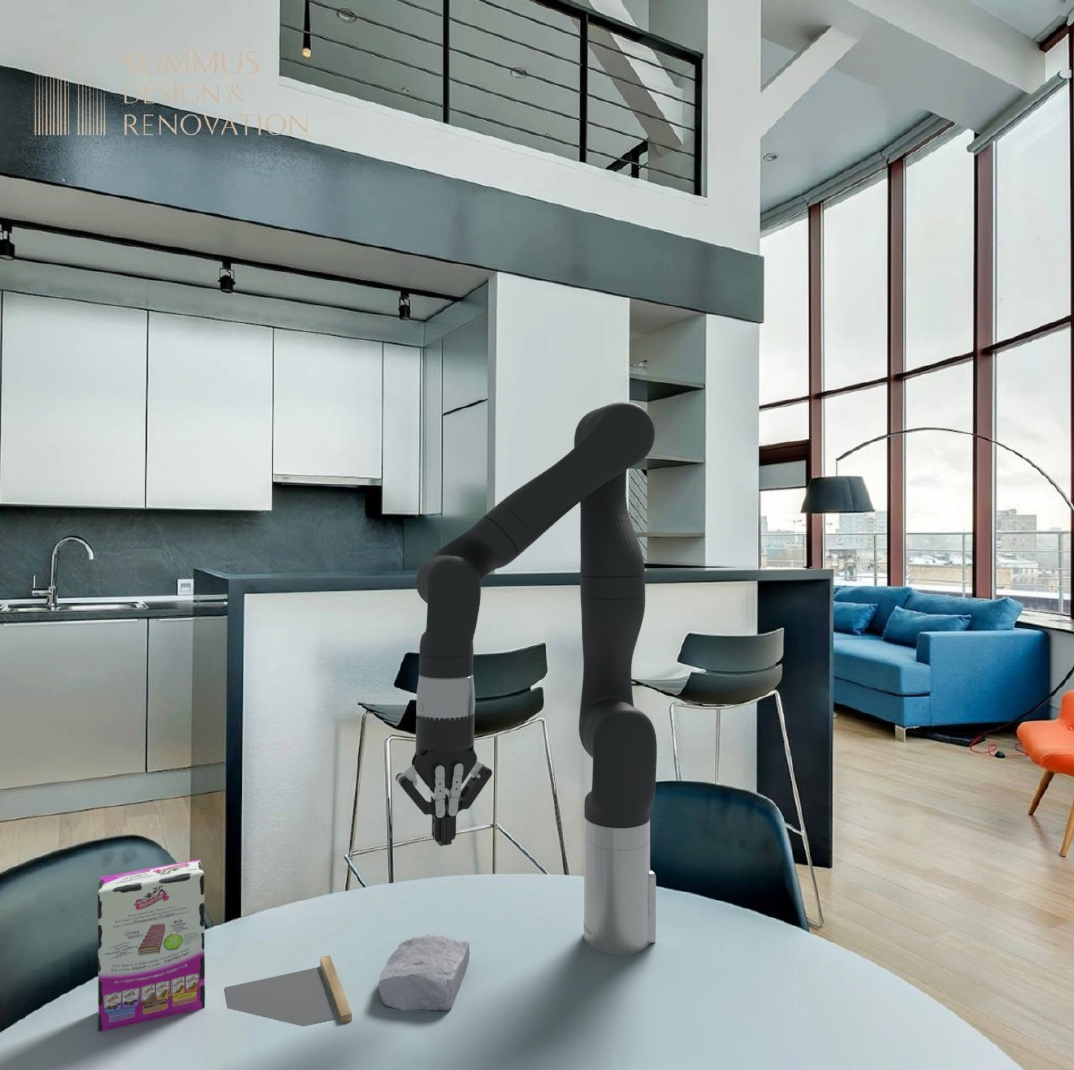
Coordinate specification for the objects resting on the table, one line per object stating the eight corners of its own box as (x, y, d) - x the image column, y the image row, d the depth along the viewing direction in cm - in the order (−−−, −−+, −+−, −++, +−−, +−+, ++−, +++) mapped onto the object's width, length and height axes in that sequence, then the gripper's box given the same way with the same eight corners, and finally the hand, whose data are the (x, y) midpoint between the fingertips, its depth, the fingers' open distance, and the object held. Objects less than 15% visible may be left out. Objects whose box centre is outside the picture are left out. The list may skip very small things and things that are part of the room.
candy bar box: (201, 991, 97) (202, 856, 97) (205, 1012, 93) (206, 872, 93) (97, 1016, 92) (98, 874, 92) (96, 1040, 88) (97, 891, 88)
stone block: (375, 1023, 93) (457, 1013, 92) (368, 982, 93) (450, 971, 92) (402, 972, 105) (475, 962, 104) (396, 935, 105) (469, 925, 104)
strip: (329, 964, 103) (329, 955, 103) (351, 1024, 91) (351, 1013, 91) (320, 966, 103) (320, 957, 103) (341, 1026, 90) (341, 1016, 90)
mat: (316, 971, 102) (316, 967, 102) (334, 1023, 91) (334, 1018, 91) (224, 991, 97) (224, 987, 97) (231, 1048, 86) (231, 1043, 86)
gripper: (483, 700, 109) (481, 826, 109) (388, 707, 103) (385, 840, 103) (503, 711, 102) (501, 846, 102) (403, 719, 97) (401, 862, 96)
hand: (443, 843), depth 103 cm, fingers closed
